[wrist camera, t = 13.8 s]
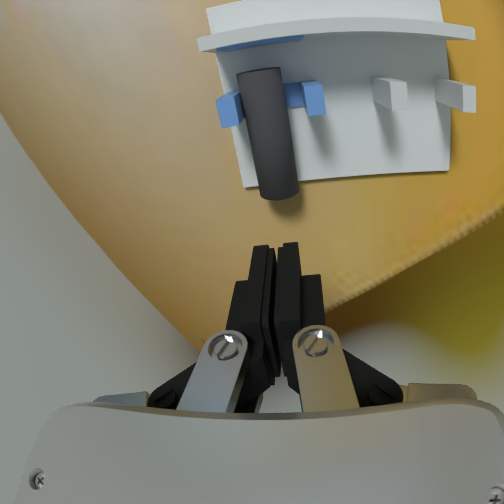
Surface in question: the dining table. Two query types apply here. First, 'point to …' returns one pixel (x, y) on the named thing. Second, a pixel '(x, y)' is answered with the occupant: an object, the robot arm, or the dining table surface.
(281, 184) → the cylinder
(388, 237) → the dining table surface
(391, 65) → the white holder rack
